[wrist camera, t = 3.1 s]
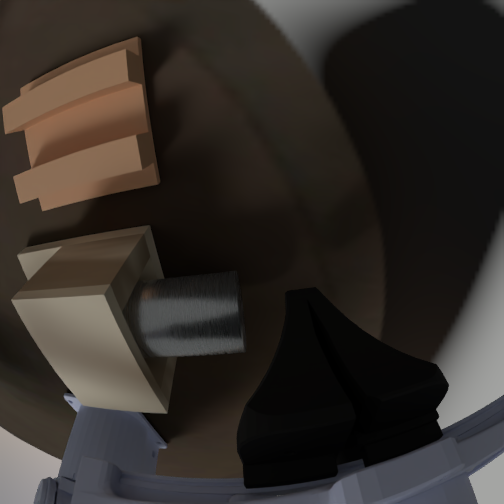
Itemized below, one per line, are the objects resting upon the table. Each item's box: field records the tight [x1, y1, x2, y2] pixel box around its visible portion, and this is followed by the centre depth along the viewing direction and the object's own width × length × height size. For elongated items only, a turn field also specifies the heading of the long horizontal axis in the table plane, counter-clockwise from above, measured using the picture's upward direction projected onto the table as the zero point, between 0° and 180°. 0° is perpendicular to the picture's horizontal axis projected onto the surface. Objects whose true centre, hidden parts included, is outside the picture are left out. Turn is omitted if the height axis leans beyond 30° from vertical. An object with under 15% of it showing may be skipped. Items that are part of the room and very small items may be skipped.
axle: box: [122, 271, 246, 357], centre depth 12 cm, size 10×4×4 cm, turn 96°
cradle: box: [2, 37, 161, 211], centre depth 10 cm, size 7×7×2 cm
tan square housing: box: [11, 225, 177, 413], centre depth 12 cm, size 7×9×6 cm
